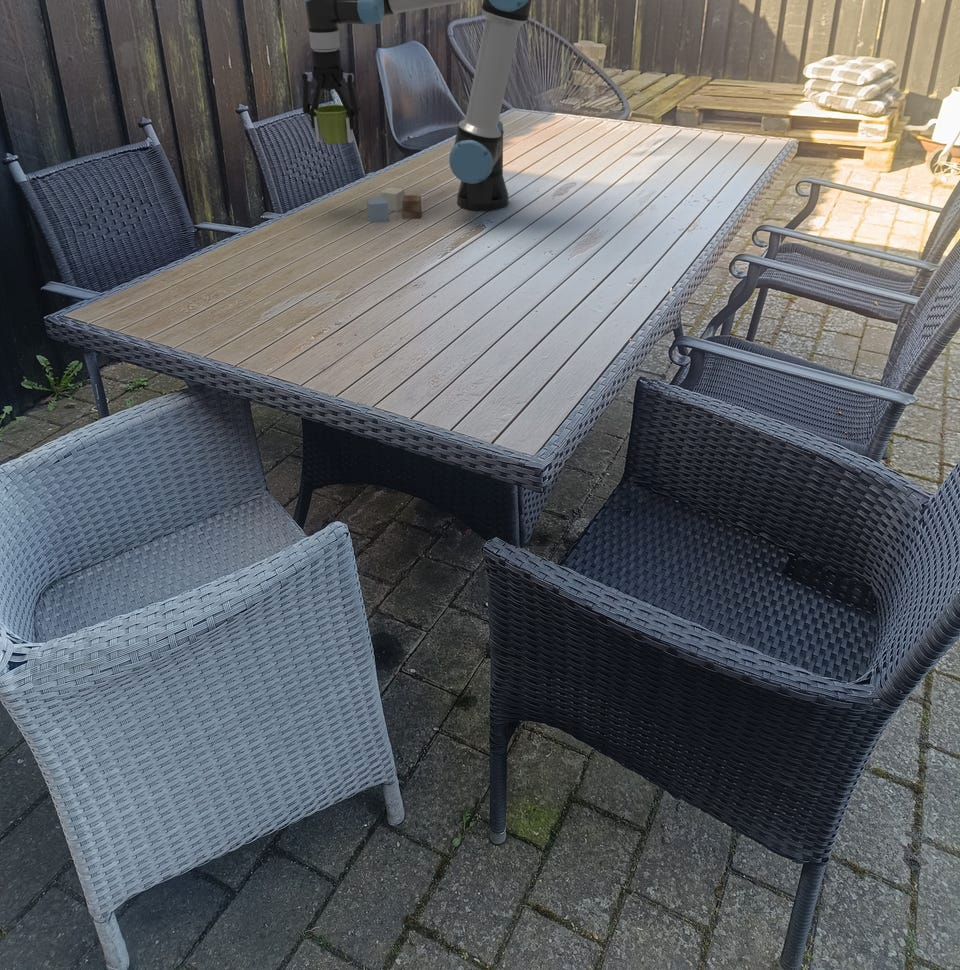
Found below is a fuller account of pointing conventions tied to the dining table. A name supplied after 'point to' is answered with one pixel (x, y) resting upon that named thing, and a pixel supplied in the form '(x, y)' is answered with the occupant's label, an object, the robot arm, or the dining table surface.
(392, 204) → the cream block
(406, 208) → the walnut block
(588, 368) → the dining table surface
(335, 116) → the plant pot
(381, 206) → the slate blue block
